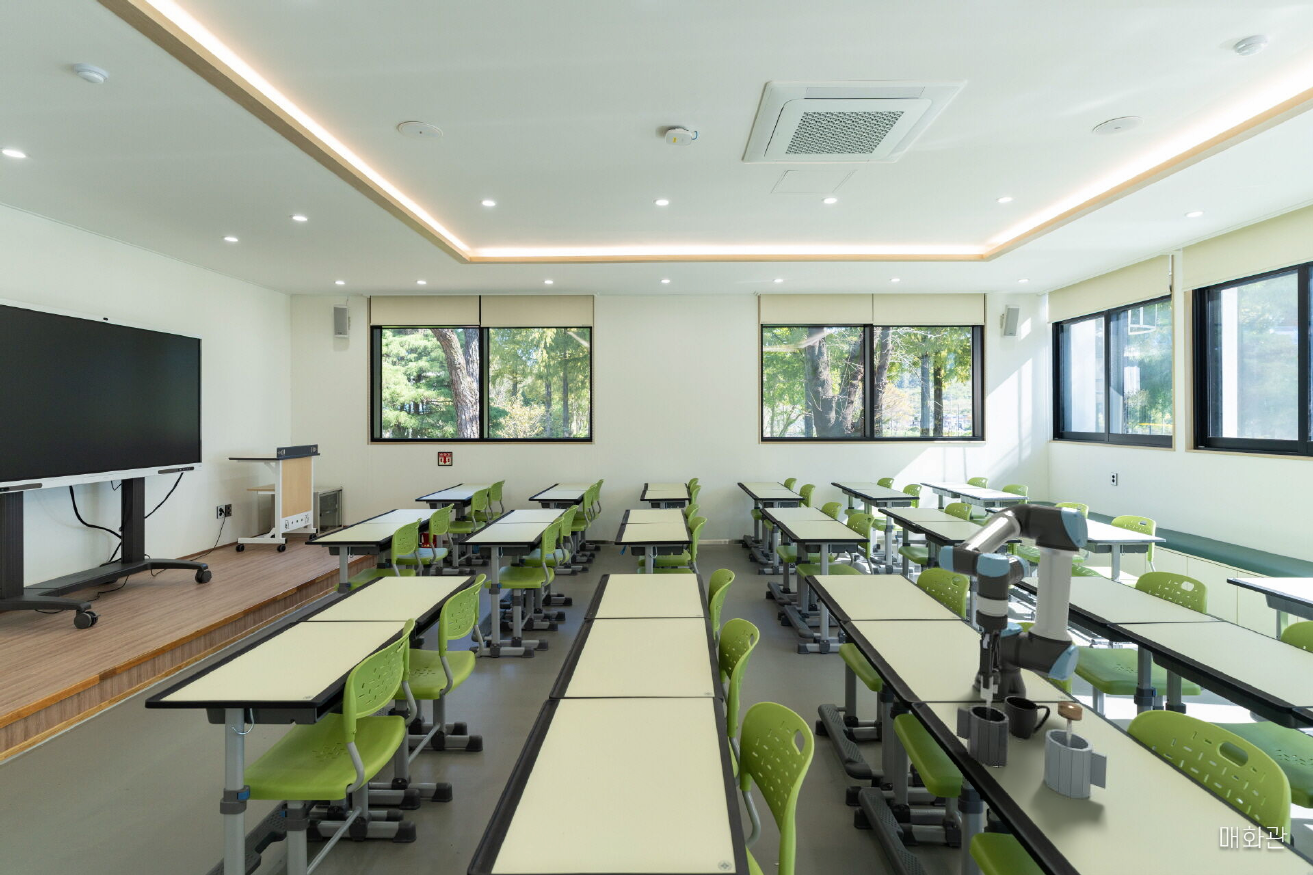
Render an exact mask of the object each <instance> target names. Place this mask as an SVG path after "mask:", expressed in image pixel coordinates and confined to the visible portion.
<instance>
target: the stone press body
mask: <svg viewBox="0 0 1313 875" xmlns="http://www.w3.org/2000/svg"><path fill="white" fill-rule="evenodd" d="M1066 735H1067V730H1066V729H1059V728H1058V729H1056V728H1055V729H1054V728H1053V729H1049V730H1047V731H1046V733H1045V742H1044V743H1045V745H1044V747H1045V748H1044V769H1043V770H1044V771H1043V774H1044V775H1043V781H1044V782H1045V783H1046V785H1047V787H1049V788H1050V789H1052V790H1054V791H1055V792H1057V793H1058V794H1061V795H1064V796H1067V797H1068V798H1073V799H1080V800H1083V799H1087V798H1090V796H1091V793H1092V788H1091V787H1092V785H1093V786H1096V787H1099V788H1101V789H1104V790H1105V789H1106V787H1107V763H1108V754H1105V753H1103V752H1100V751H1096V750H1093V744H1092V742H1090V741H1089V740H1088V739H1087V738H1086V737H1083V736H1081V735H1080V734H1078V733H1076V732H1072V733H1071V748H1070V747H1067V746H1066Z"/></svg>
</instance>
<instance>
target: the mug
mask: <svg viewBox="0 0 1313 875" xmlns="http://www.w3.org/2000/svg"><path fill="white" fill-rule="evenodd" d="M1003 704H1004V705H1003V706H1004V707H1003V708H1004V710H1003V711H1004V713H1005V714H1006V715H1007V716H1008V718H1009V734H1010V736H1012V737H1014V738H1016V739H1019V740H1026V741H1027V740H1030V739H1031V738H1032V735H1034V734H1036V733H1037V732H1039V731H1040V730H1041V728H1042V727H1043V725H1044V724H1045V723H1047V720H1048V719H1049V718H1050V715H1051V709H1050V707H1049V706H1048V705H1043V704H1039V705H1038V704H1036V703H1035V702H1034V701H1032V700H1031V699H1028V698H1022V697H1017V696H1008V697H1006V698H1005V701H1004V703H1003ZM1041 709H1046V710H1045V714H1044V716H1043V717H1042V718H1041V720H1040V721H1039V722H1038V724H1037V721H1038V714H1039V713H1038V712H1039V710H1041Z"/></svg>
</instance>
